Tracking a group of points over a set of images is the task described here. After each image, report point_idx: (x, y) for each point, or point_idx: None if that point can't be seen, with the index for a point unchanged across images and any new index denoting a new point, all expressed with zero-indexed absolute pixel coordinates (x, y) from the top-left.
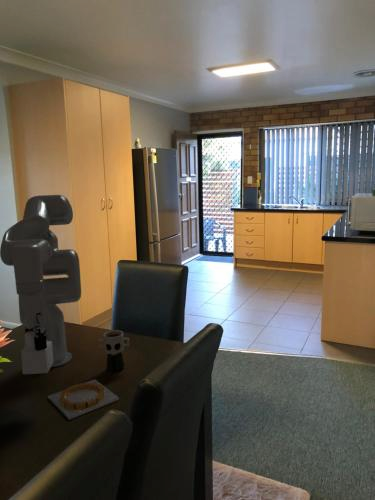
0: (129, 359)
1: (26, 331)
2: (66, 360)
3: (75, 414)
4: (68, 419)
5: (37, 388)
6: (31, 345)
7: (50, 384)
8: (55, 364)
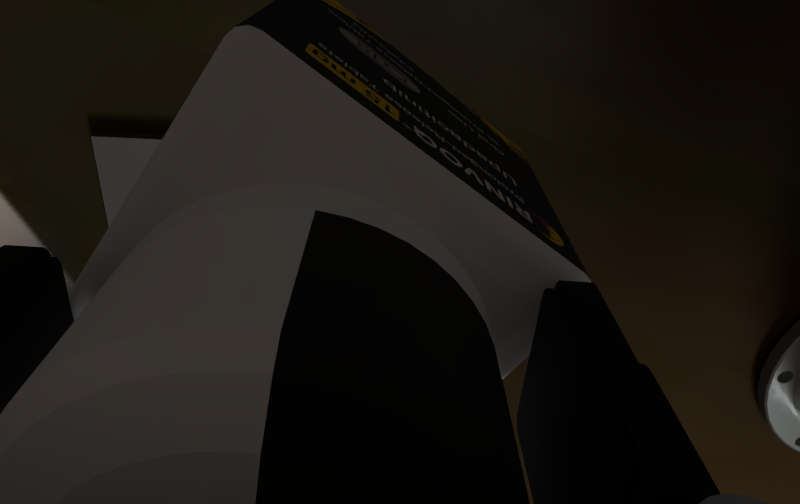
0: None
1: (365, 449)
2: (765, 409)
3: (102, 179)
4: (105, 131)
5: (620, 148)
6: (130, 256)
7: (596, 228)
8: (786, 348)
